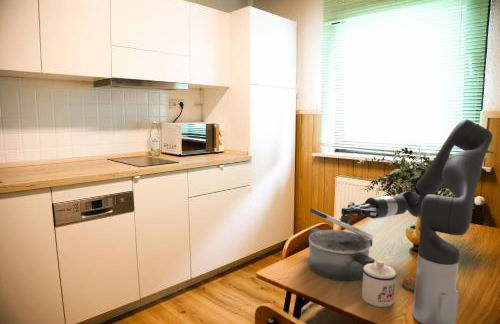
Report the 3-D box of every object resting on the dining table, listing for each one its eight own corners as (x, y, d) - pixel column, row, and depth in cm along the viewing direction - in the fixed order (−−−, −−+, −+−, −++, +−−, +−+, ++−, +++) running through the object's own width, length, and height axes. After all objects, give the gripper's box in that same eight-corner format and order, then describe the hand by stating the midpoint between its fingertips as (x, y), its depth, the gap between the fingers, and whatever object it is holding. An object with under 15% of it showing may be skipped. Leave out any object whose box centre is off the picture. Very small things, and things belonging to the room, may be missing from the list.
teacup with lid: (381, 311, 92) (384, 271, 91) (354, 296, 100) (356, 259, 98) (406, 299, 99) (410, 261, 97) (379, 285, 106) (382, 250, 105)
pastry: (403, 291, 104) (404, 279, 103) (400, 281, 110) (401, 269, 110) (437, 296, 101) (438, 284, 100) (432, 286, 107) (433, 274, 107)
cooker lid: (384, 246, 112) (389, 235, 112) (333, 223, 102) (338, 211, 102) (343, 226, 131) (347, 217, 131) (296, 205, 121) (301, 195, 121)
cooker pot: (398, 280, 110) (400, 251, 108) (342, 294, 101) (344, 262, 99) (337, 246, 137) (339, 222, 136) (289, 254, 128) (290, 229, 127)
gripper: (368, 192, 129) (331, 196, 122) (396, 201, 117) (356, 206, 110) (367, 212, 130) (330, 216, 123) (394, 222, 118) (355, 228, 111)
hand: (342, 211), depth 116 cm, fingers closed
